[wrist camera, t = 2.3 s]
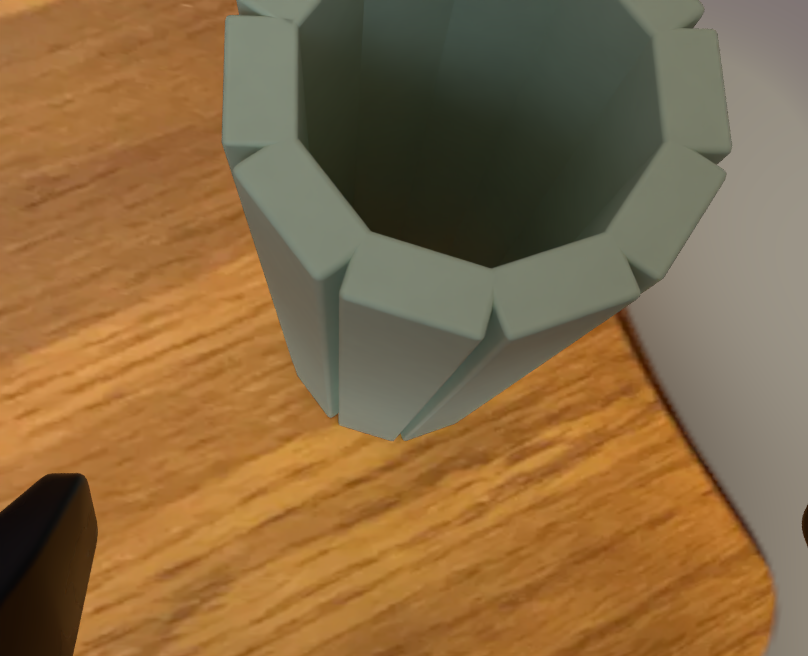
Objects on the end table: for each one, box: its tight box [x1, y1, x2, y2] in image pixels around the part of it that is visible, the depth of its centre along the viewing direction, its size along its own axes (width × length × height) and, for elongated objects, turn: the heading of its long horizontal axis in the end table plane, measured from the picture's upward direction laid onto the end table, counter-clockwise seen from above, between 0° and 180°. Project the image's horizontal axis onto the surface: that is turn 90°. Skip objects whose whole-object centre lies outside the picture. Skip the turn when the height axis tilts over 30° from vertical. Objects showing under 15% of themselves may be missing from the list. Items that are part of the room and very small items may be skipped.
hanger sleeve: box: [222, 0, 732, 441], centre depth 15 cm, size 6×6×13 cm
